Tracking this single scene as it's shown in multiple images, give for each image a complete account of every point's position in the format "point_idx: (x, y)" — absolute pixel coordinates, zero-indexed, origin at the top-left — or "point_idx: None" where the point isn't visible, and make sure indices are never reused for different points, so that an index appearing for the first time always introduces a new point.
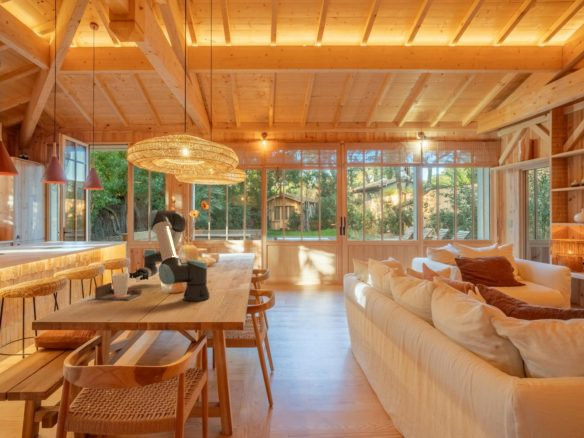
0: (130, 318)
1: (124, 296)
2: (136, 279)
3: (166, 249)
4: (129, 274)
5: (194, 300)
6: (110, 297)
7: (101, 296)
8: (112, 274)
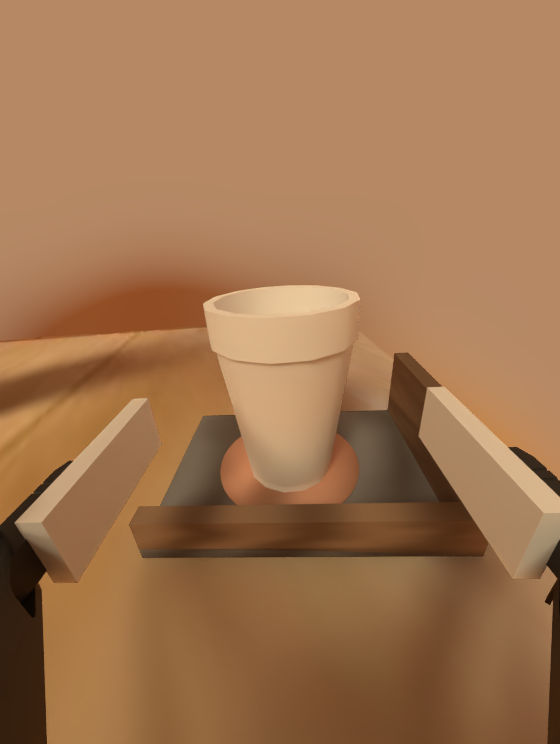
0: (157, 337)
1: None
2: (151, 419)
3: None
4: (206, 319)
5: None
6: None
7: (401, 433)
8: (347, 290)
